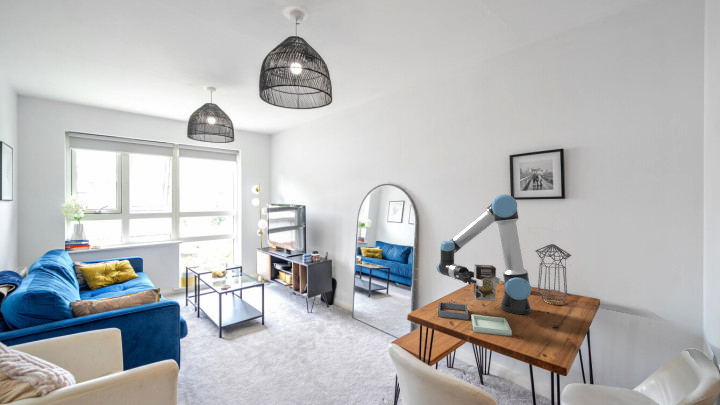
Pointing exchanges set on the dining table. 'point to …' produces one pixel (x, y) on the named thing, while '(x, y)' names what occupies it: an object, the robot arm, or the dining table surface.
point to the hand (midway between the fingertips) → (491, 282)
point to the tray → (490, 325)
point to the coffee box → (485, 282)
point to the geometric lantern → (552, 267)
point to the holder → (453, 314)
